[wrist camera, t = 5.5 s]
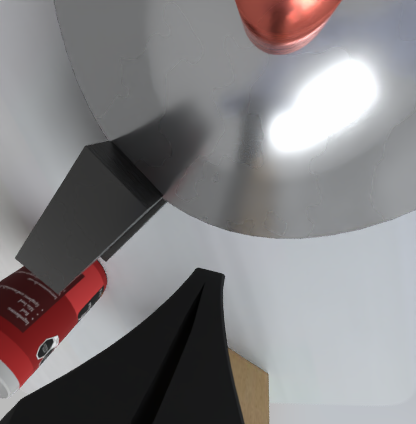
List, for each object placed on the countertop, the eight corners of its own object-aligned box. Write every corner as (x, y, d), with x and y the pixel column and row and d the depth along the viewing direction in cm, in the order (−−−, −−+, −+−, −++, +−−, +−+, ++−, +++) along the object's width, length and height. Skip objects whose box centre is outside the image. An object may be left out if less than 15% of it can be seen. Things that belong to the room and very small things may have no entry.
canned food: (76, 295, 28) (-24, 393, 18) (41, 245, 25) (-99, 330, 16) (120, 293, 25) (30, 406, 16) (86, 237, 22) (-50, 333, 13)
